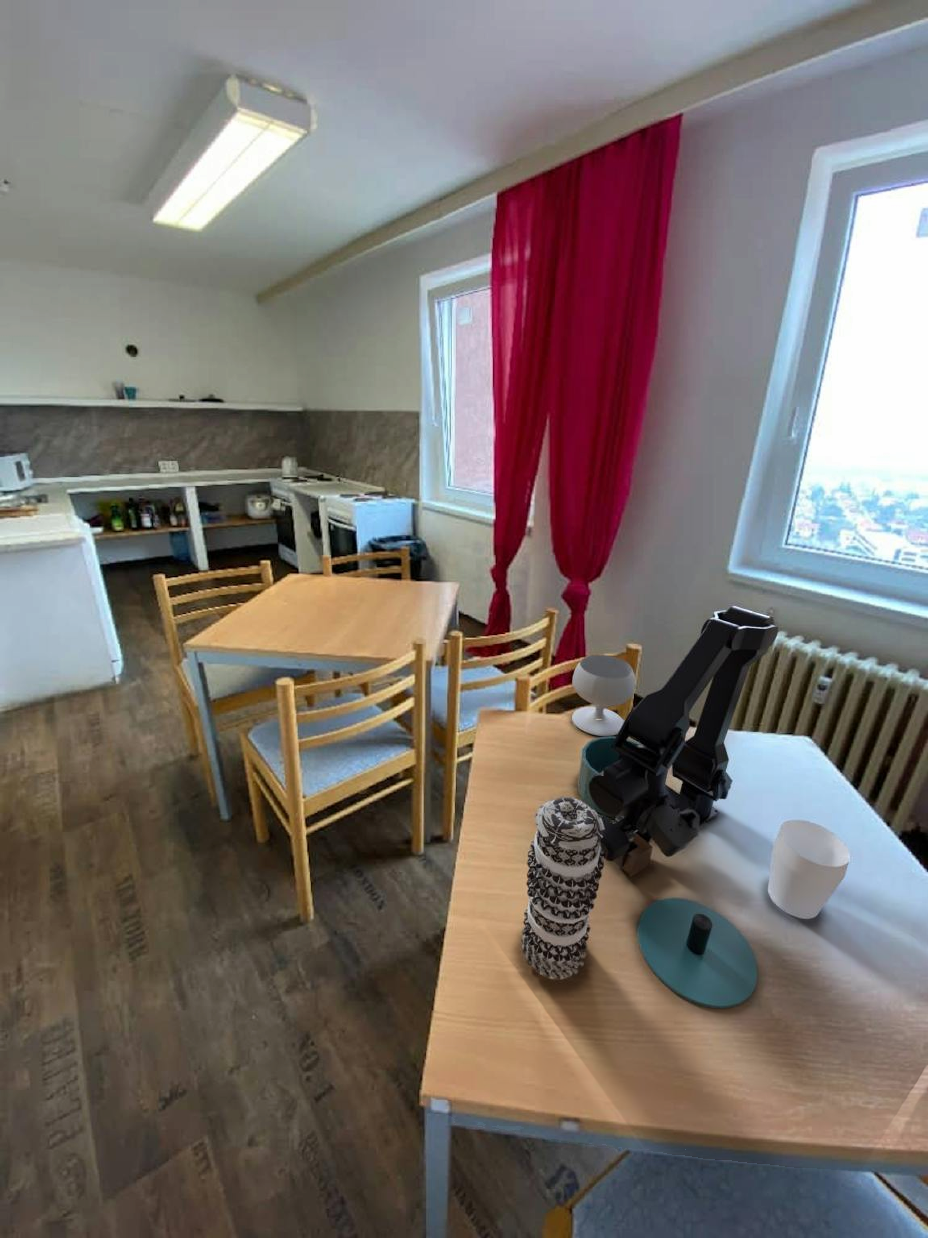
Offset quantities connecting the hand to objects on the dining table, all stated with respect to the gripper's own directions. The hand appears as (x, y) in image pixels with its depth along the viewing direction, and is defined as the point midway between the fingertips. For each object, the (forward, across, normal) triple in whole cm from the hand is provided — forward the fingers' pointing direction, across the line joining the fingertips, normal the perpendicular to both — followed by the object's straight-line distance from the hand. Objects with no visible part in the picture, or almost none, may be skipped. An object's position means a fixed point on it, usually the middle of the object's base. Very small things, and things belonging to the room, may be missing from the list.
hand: (629, 858), depth 85 cm
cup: (+1, +16, -18) cm, 24 cm away
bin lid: (0, -4, -15) cm, 16 cm away
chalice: (+1, +26, +32) cm, 41 cm away
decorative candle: (+1, -21, -5) cm, 22 cm away
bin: (+1, +11, +13) cm, 17 cm away
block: (+1, 0, 0) cm, 1 cm away
